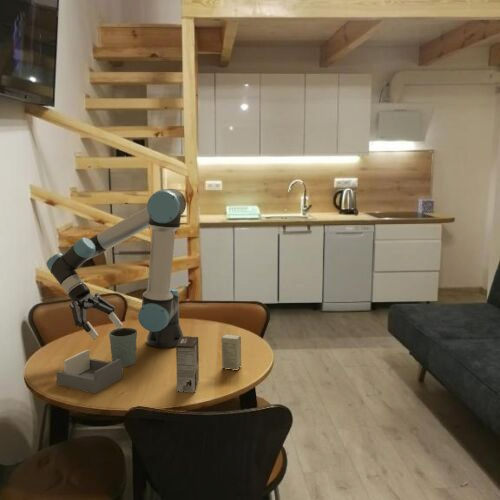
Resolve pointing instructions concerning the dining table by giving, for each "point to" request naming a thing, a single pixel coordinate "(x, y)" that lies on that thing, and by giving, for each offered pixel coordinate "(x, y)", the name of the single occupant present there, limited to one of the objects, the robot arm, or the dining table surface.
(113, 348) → the grey-green cup
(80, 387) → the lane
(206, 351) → the dining table surface
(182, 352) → the coffee box
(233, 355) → the skincare box
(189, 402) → the dining table surface
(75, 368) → the pusher
